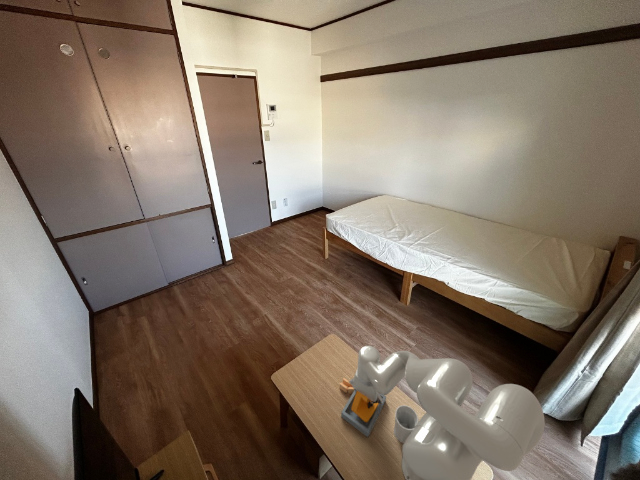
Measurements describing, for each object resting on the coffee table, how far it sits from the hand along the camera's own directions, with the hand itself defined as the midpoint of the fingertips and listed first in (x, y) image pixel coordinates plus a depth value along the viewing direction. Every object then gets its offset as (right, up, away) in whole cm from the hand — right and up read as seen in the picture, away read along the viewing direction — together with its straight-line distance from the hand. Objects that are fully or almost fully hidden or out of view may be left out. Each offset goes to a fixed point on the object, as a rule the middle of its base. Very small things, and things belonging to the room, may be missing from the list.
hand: (364, 400), depth 99 cm
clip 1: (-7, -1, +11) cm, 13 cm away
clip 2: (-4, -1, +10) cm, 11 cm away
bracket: (+1, -3, +1) cm, 3 cm away
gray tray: (0, -5, +3) cm, 6 cm away
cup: (+14, -9, -5) cm, 17 cm away
